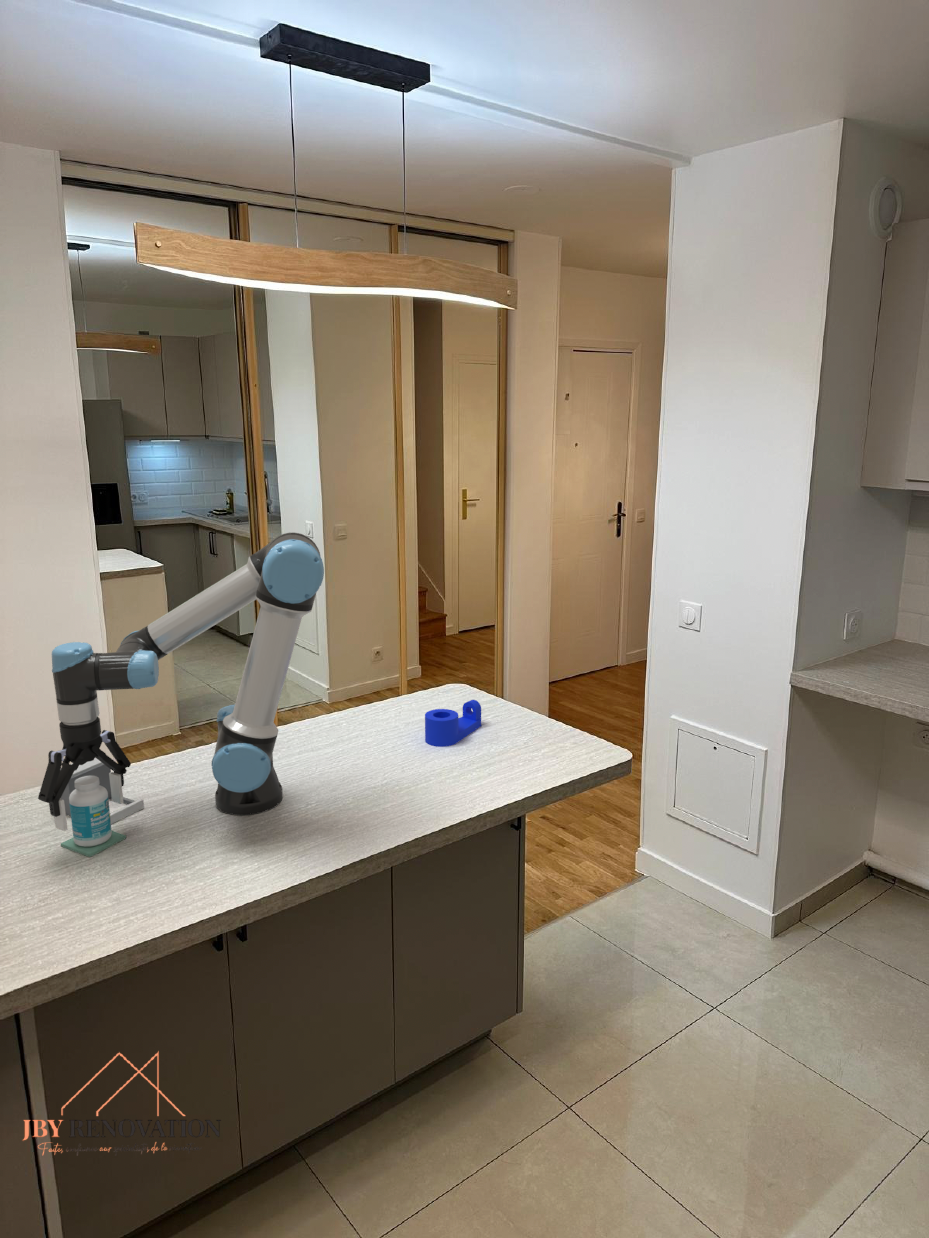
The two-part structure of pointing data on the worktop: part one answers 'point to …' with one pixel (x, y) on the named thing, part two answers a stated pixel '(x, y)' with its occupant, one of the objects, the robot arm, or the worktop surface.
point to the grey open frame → (103, 774)
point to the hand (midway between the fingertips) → (90, 814)
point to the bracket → (451, 724)
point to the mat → (93, 849)
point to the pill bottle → (90, 812)
